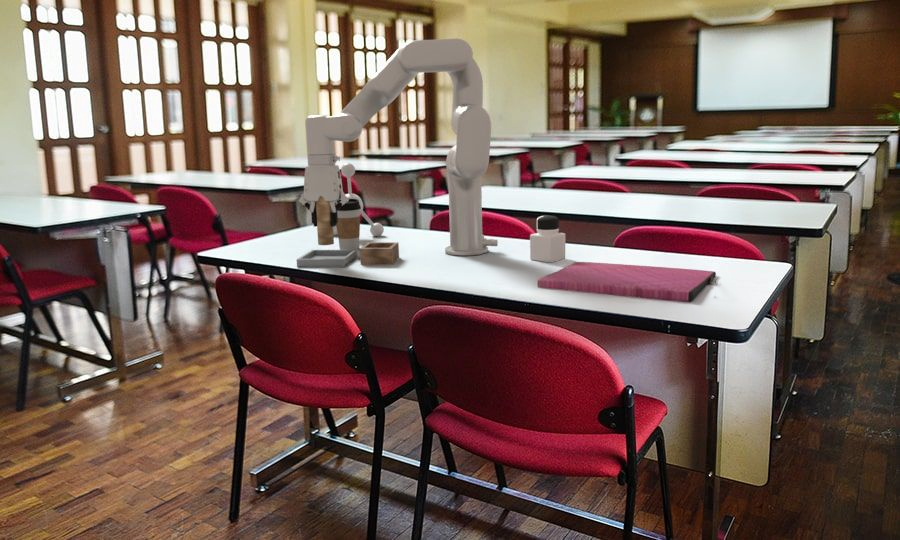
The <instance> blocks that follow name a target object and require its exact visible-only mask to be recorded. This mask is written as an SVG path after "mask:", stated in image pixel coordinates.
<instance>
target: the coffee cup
mask: <svg viewBox="0 0 900 540" xmlns="http://www.w3.org/2000/svg"><path fill="white" fill-rule="evenodd" d="M341 200H342V199H340V200H337V204H338V203H339V202H340V201H341ZM360 209H361V206H360V204H359V200H358V199H349V201H348V202H347V203H345V204H344V205H343V206H342V207H341V208H340V209H339V210H338V211H337V214H338V223H336V227H337V233H338V235H337V238H338V244H339V245H338V246H339V250H356V249H357V250H358V249H359V250H360V231H361V214H360Z"/></svg>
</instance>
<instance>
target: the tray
mask: <svg viewBox="0 0 900 540" xmlns="http://www.w3.org/2000/svg"><path fill="white" fill-rule="evenodd" d="M357 258H358V249H357V250H340V249H311V250H310V251H308V252H306V253H305V254H303V255H302V256H299V257H298V258H297V259H296V267H297V268H298V267H299V268H346V267H347V266H348V265H349V264H350V263H351V262H353V261H354V260H355V259H357ZM300 266H301V267H300ZM303 266H305V267H303ZM306 266H307V267H306Z"/></svg>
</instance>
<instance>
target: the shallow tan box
mask: <svg viewBox="0 0 900 540" xmlns="http://www.w3.org/2000/svg"><path fill="white" fill-rule="evenodd" d="M399 244H400V243H399V241H398V242H396V241H395V242H391V241H390V242H387V241H386V242H384V241H383V242H382V241H381V242H380V241H379V242H378V241H377V242H371V241H370V242H369V241H368V242H367V243H365V244H364V245H363V246H361V247H359V256H360V257H359V258H360V259H359V260H360V265H394V264H395V263H396V262H397V260H399V259H400V250H399V249H400V247H399Z"/></svg>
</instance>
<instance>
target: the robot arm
mask: <svg viewBox="0 0 900 540" xmlns="http://www.w3.org/2000/svg"><path fill="white" fill-rule="evenodd" d="M473 55H474V52H473V49H472V47H471V44H469V42H467V41H466V40H465V39H462V38H458V37H457V38H455V37H454V38H444V39H443V38H442V39H441V38H440V39H438V38H437V39H414V40H409V41H407V42H405V43H403V44H401V46H399V48H398V49H396V51H395V52H394V53H393V54H392V55H391V56H390V57H389V58H388V59H387V60H386V62H384V64H383V65H382V66H381V67H380V68H379V69H378V70H377V72H375V74H374V75H372V77H371V78H370V79H369V80H368V81H367V82H366V84H364V86H363V87H362V88H361V90H360V91H358V93H357V94H356V95H355V96H354V98H352V99H351V100H350V101H349V103H347V105H346V106H345V107H344V108H343V109H342V110H341V111H340V112H339V113H338V114H337V115H331V116H330V115H327V114H318V115H317V114H314V115H308V116H307V117H305V125H304V126H305V137H306V154H307V165H305V169H304V177H303V178H304V179H303V192H302V194H301V195H300V197H299V198H298V202H299V203H301V204H302V205H303V206H305V208H306V209H307V210H308V211H309V213H311V223H312V224H313V227H314V228H315V227H316V228H317V215H316V202H317V201H318V199H319V197H320V196H322V197H323V198H324V200H325V201H327V202H330V206H331V209H332V210H331V211H332V212H331V213H330V219H331V226H332V227H334V226H336V223H338V214H337V211H338V210H339V209H340V208H341V207H342V206H343V205H344V204H345V203H347V202H348V201H349V199H348V198H347V196H346V193H345V192H344V190H343V182H342V176H341V175H342V174H341V169H340V165H338V164H337V163H338V162H340V160H341V157H340V155H339V156H337V155H336V153H335V141H336V142H348V143H350V142H354V141H356V140H357V139H359V138H360V136H361V135H362V132H363V127H365V126H366V125H367V123H369V121H370V120H371V119H372V118H373V117H374V116H376V114H377V113H379V112H380V111H381V110H382V109H384V108H386V107H387V106H389V105H390V104H391V103H393V102H394V101H395V99H396V98H397V97H398V96H399V95H400V94H401V93H402V92H403V91H404V90H405V88H406V87H408V85H409V84H411V82H412V81H413V80H414V79H415V77H417V76H418V74H420V73H440V72H441V73H442V72H443V73H444V72H446V73H447V74H448V76H449V77H450V79H451V83H452V106H451V107H452V108H451V118H450V126H451V130H452V132H453V133H454V135H456V144H455V145H454V146H452V147H451V148H450V149H449V151H448V153H447V155H446V162H445V163H446V165H445V166H446V174H447V183H448V185H447V186H448V208H449V209H448V211H449V246H446V247H445V249H444V252H445V254H447V255H451V256H462V257H463V256H465V257H466V256H476V255H482V254H486V253H488V251H489V250H488V249H489V248H488V247H498V243H499V242H498V239H494V238H490V239H488V238H485V234H483V210H482V208H483V207H482V199H483V198H482V197H483V194H482V192H483V191H482V181H481V180H482V178H481V177H482V176H484V175H485V173H486V172H487V169H488V167H489V163H490V162H489V161H490V150H491V137H492V122H491V121H492V120H491V117H490V115H489V112H488V111H487V110H486V109H485V108H484V107H483V103H484V102H483V100H484V99H483V98H484V88H483V87H484V81H483V75H482V71H481V69H480V67H479V64H478V63H477V62H476V60H475V58H474V56H473ZM340 199H342V200H341V201H340V202H339V203H338V204H337V200H340Z"/></svg>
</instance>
